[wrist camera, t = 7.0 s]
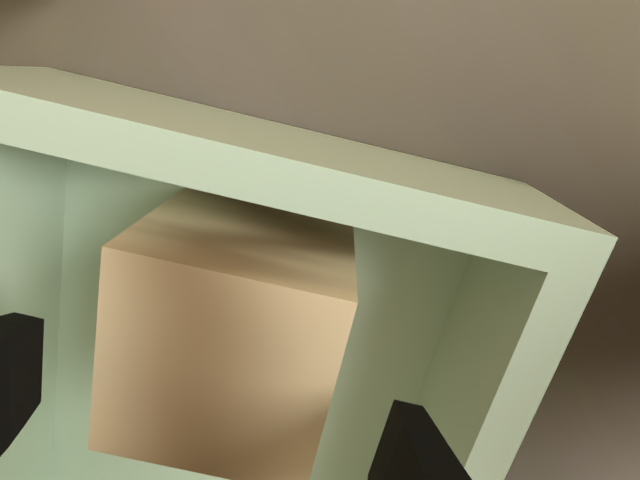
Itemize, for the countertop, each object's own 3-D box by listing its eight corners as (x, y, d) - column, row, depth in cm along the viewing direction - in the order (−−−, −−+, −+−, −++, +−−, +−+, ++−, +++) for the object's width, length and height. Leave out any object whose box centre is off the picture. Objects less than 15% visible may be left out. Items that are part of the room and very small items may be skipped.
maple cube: (352, 225, 14) (357, 303, 9) (316, 367, 16) (305, 495, 11) (184, 187, 14) (101, 246, 9) (166, 335, 15) (87, 449, 11)
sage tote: (524, 182, 14) (618, 237, 9) (365, 595, 20) (372, 759, 15) (47, 67, 13) (-114, 63, 9) (32, 525, 19) (-69, 670, 15)
